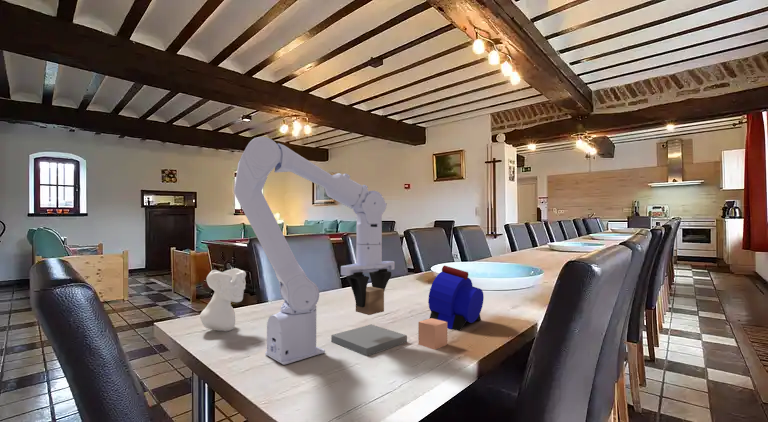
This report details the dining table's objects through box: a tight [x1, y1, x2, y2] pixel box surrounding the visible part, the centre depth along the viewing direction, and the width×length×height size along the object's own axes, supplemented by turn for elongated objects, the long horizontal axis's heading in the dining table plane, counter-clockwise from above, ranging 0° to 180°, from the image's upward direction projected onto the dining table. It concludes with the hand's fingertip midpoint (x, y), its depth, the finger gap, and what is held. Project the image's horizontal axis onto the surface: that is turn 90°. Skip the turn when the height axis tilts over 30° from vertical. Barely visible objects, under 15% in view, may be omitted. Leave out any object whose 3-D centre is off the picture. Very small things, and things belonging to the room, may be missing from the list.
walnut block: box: [355, 286, 385, 316], centre depth 82 cm, size 4×4×5 cm
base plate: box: [330, 324, 408, 357], centre depth 82 cm, size 12×12×2 cm
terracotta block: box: [417, 317, 448, 351], centre depth 80 cm, size 4×4×5 cm
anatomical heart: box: [199, 267, 247, 332], centre depth 90 cm, size 10×11×15 cm
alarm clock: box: [427, 265, 484, 332], centre depth 97 cm, size 12×12×15 cm
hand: (369, 304), depth 82 cm, fingers closed on walnut block, 4 cm apart
